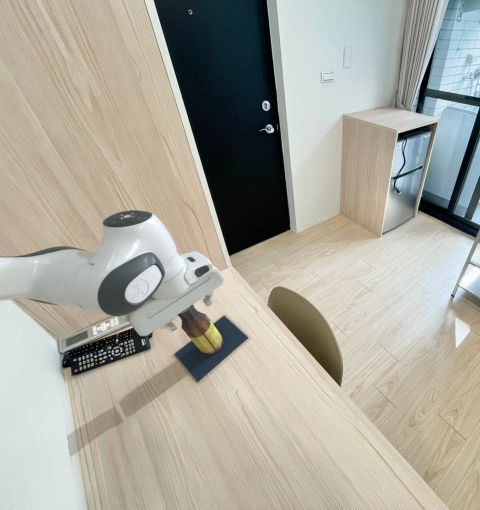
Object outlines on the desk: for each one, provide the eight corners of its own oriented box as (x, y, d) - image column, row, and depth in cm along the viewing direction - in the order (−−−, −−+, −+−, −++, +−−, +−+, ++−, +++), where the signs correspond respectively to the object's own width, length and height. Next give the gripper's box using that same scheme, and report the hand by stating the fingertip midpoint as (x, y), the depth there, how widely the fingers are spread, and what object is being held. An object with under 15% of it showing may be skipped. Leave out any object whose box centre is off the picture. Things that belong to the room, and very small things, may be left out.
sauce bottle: (218, 331, 80) (193, 289, 66) (227, 345, 77) (203, 304, 63) (196, 345, 77) (164, 304, 63) (205, 361, 73) (174, 321, 60)
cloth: (198, 381, 70) (197, 381, 69) (174, 354, 75) (174, 353, 75) (248, 337, 79) (248, 337, 79) (224, 315, 84) (224, 315, 84)
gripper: (119, 319, 49) (154, 355, 59) (218, 259, 61) (234, 296, 70) (106, 301, 52) (141, 338, 62) (202, 247, 64) (220, 285, 73)
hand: (191, 315), depth 66 cm, fingers open, 8 cm apart
